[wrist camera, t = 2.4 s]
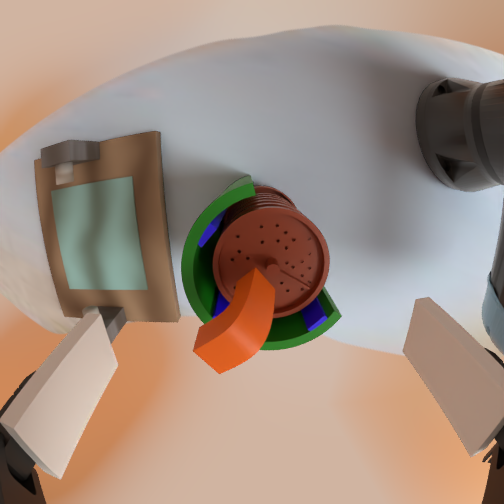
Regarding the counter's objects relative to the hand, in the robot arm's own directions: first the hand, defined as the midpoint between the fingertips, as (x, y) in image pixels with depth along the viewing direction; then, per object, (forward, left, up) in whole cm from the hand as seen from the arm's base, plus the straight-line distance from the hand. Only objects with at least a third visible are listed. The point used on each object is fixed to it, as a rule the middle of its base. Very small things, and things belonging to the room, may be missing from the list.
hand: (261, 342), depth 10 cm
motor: (0, 0, -21) cm, 21 cm away
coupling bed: (+19, 0, -21) cm, 28 cm away
